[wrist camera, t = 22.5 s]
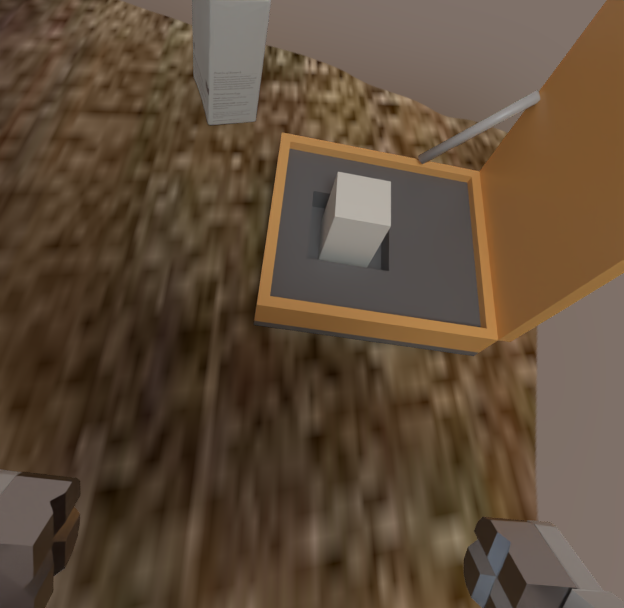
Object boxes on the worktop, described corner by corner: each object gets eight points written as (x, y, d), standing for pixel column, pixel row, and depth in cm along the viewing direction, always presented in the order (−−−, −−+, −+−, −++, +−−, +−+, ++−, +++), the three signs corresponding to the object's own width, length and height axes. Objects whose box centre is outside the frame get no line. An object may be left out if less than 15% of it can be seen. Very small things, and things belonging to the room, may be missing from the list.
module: (318, 260, 45) (334, 216, 39) (321, 218, 48) (337, 169, 41) (366, 268, 46) (390, 226, 39) (367, 226, 48) (390, 179, 42)
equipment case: (253, 324, 42) (293, 82, 19) (277, 162, 51) (324, -142, 28) (484, 357, 45) (770, 183, 22) (469, 198, 54) (661, -49, 30)
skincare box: (193, 77, 54) (183, -64, 41) (242, 74, 56) (248, -63, 43) (209, 129, 51) (205, -5, 38) (260, 124, 53) (273, -6, 40)
